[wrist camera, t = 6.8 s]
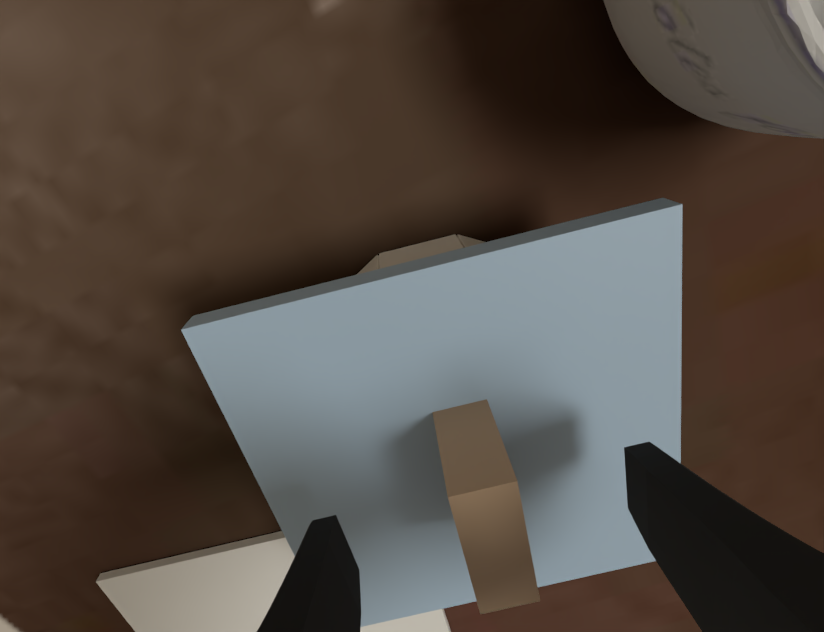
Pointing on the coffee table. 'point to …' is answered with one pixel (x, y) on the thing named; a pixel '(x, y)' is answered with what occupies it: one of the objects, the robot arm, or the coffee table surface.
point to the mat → (220, 590)
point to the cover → (464, 407)
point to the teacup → (731, 59)
